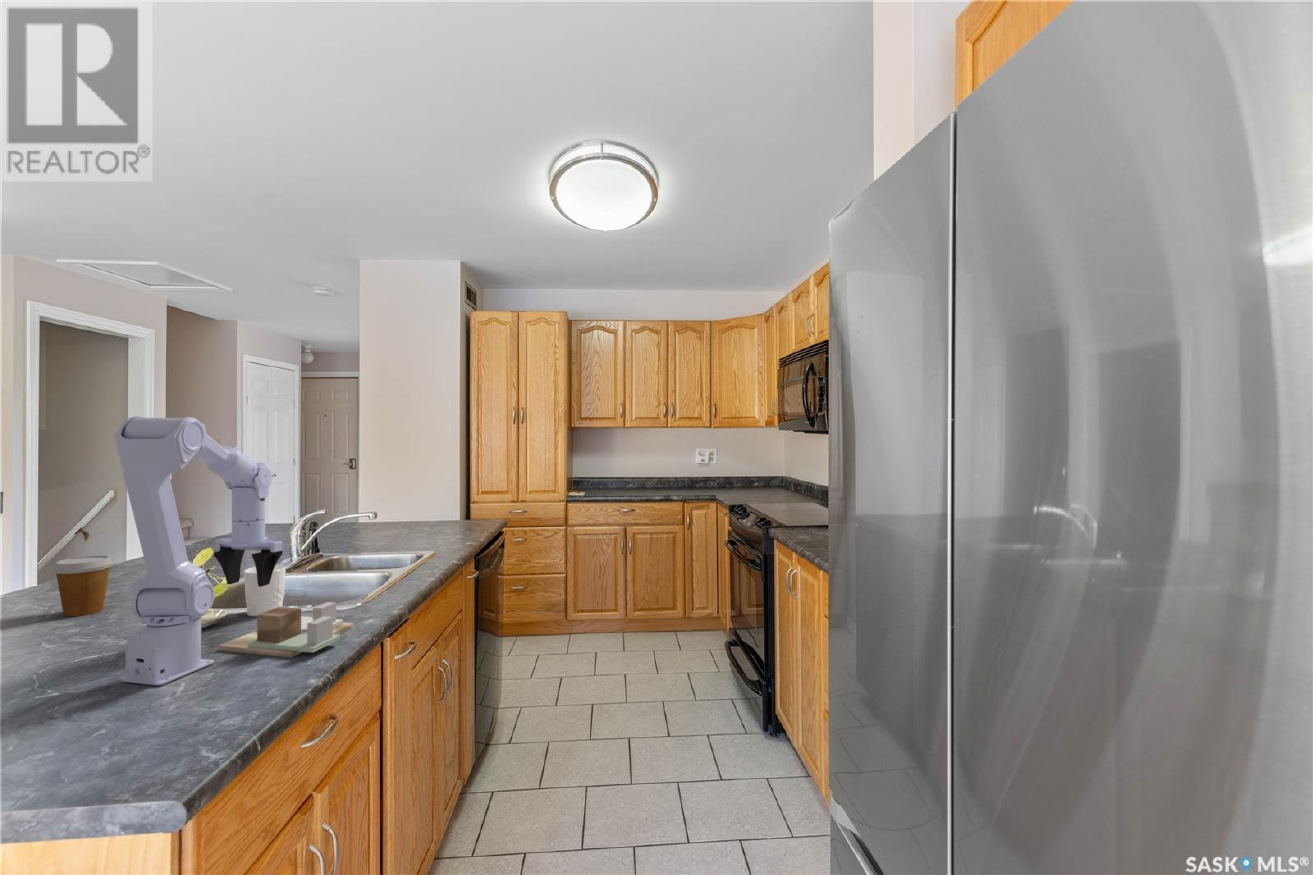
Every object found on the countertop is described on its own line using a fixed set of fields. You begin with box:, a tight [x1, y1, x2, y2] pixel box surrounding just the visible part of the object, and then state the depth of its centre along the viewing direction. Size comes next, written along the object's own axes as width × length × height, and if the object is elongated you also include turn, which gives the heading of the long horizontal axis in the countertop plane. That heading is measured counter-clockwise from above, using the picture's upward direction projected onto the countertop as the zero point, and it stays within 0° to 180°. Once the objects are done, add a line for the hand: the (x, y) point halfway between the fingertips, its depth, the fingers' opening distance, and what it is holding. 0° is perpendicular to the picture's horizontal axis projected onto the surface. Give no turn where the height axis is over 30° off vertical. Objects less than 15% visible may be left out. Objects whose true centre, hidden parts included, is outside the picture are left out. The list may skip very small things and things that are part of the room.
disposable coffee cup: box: [52, 554, 114, 618], centre depth 127 cm, size 10×10×12 cm
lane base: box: [218, 622, 354, 658], centre depth 113 cm, size 16×16×1 cm
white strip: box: [301, 601, 344, 632], centre depth 117 cm, size 7×14×5 cm, turn 79°
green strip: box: [248, 616, 341, 653], centre depth 108 cm, size 7×14×5 cm, turn 79°
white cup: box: [243, 564, 287, 617], centre depth 129 cm, size 8×8×10 cm
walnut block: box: [256, 606, 302, 643], centre depth 109 cm, size 5×5×5 cm
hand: (248, 584), depth 118 cm, fingers open, 7 cm apart
